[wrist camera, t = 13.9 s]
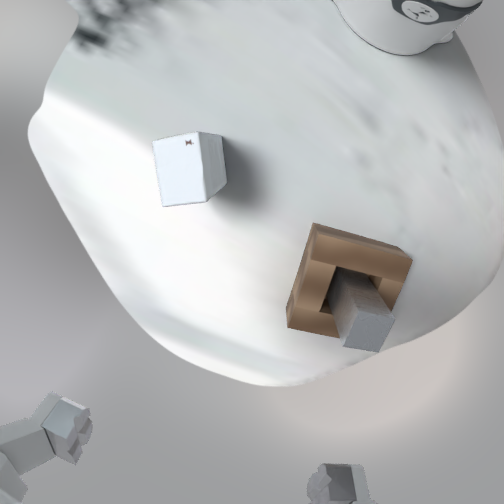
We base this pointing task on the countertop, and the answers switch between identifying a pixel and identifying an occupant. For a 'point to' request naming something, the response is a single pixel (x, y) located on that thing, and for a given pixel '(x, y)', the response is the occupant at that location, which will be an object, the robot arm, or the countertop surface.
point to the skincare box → (189, 167)
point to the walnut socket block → (322, 269)
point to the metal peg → (358, 310)
